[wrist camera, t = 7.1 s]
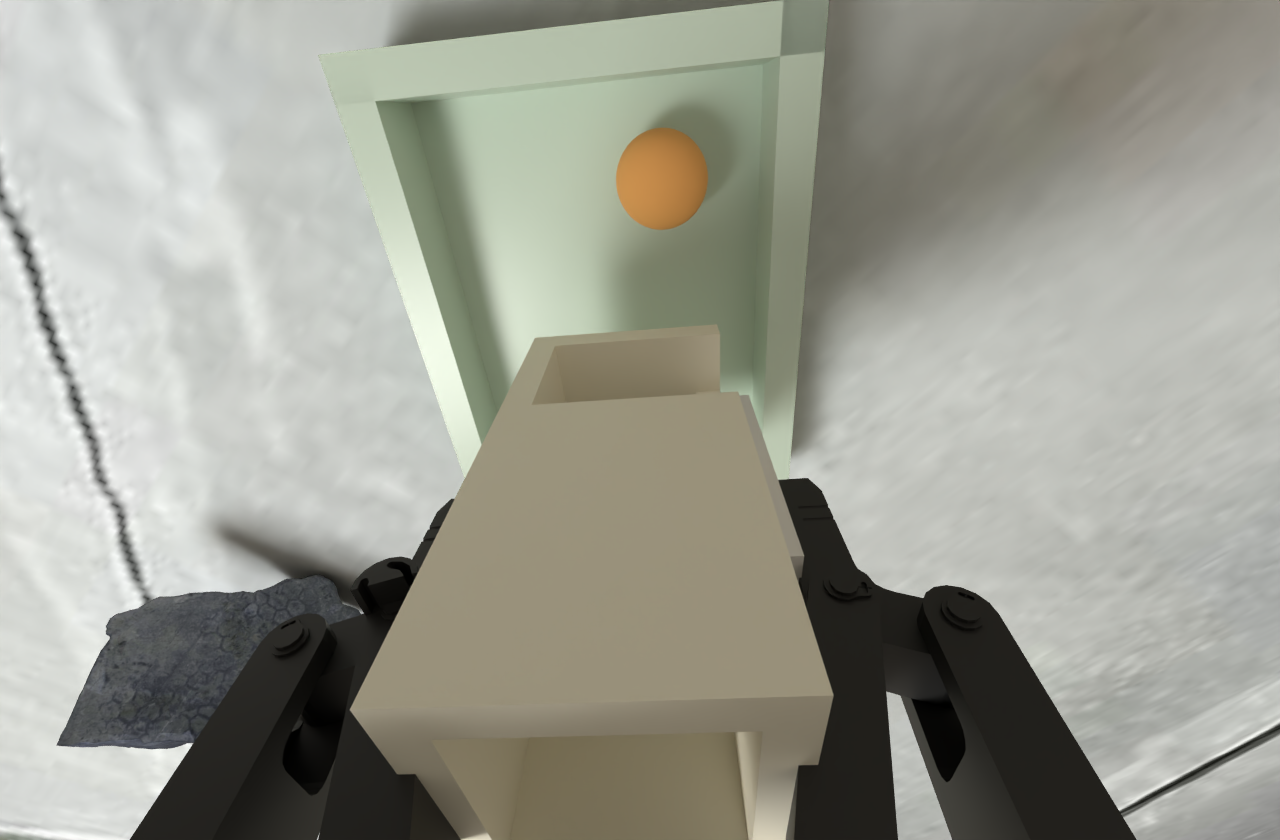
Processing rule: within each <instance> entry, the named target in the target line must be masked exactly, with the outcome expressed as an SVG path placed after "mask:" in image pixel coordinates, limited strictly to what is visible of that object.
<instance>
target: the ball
mask: <svg viewBox="0 0 1280 840" xmlns="http://www.w3.org/2000/svg"><path fill="white" fill-rule="evenodd" d="M707 185H708V170H707V165H706V162H705V158H704V156H703V154H702V152H701V150H700V148H699V147H698V146H697V144H696V143H695V142H694V141H693V140H692V139H691V138H690V137H689V136H687V135H686V134H684V133H682V132H680V131H678V130H675V129H671V128H654V129H650V130H647V131H645V132H643V133H641V134H640V135H638V136H637V137H636V138H634V139H633V140H632V141H631V142H630V143H629V144H628V146H627V147H626V149H625V150H624V152H623V153H622V155H621V158H620V160H619V163H618V167H617V172H616V187H617V193H618V196H619V199H620V202H621V204H622V206H623V207H624V209H625V211H626V212H627V213H628V214H629V216H630V217H631V218H633V219H634V220H635V221H636V222H638V223H639V224H641V225H643V226H645V227H648V228H651V229H656V230H666V229H671V228H675V227H677V226H680V225H682V224H683V223H685V222H686V221H688V220H689V219H690V218H691V217H692V216H693V215H694V214H695V213H696V212H697V210H698V209H699V207H700V206H701V204H702V202H703V200H704V197H705V194H706V190H707Z"/></svg>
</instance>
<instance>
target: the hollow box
mask: <svg viewBox="0 0 1280 840" xmlns="http://www.w3.org/2000/svg"><path fill="white" fill-rule="evenodd" d="M833 696H834V695H833V692H832V689H831V685H830V682H829V679H828V676H827V673H826V670H825V666H824V663H823V660H822V657H821V654H820V650H819V647H818V644H817V641H816V638H815V635H814V631H813V628H812V625H811V622H810V619H809V615H808V612H807V609H806V606H805V603H804V600H803V596H802V593H801V590H800V587H799V584H798V580H797V577H796V574H795V571H794V568H793V565H792V561H791V558H790V555H789V552H788V549H787V545H786V542H785V539H784V536H783V533H782V530H781V526H780V523H779V520H778V517H777V514H776V510H775V507H774V504H773V501H772V498H771V495H770V491H769V488H768V485H767V482H766V479H765V475H764V472H763V469H762V466H761V463H760V460H759V456H758V453H757V450H756V447H755V444H754V440H753V437H752V434H751V431H750V428H749V424H748V421H747V418H746V415H745V412H744V409H743V405H742V402H741V399H740V396H739V393H738V391H737V392H722V393H720V332H719V329H718V326H717V324H715V325H701V326H688V327H674V328H661V329H647V330H633V331H620V332H606V333H593V334H579V335H565V336H552V337H538V338H535V339H534V341H533V343H532V345H531V347H530V349H529V351H528V353H527V355H526V357H525V359H524V361H523V363H522V365H521V367H520V369H519V371H518V373H517V375H516V377H515V379H514V381H513V383H512V385H511V387H510V389H509V391H508V393H507V395H506V397H505V399H504V401H503V403H502V405H501V407H500V409H499V411H498V413H497V415H496V417H495V419H494V421H493V423H492V425H491V427H490V429H489V431H488V433H487V435H486V437H485V439H484V441H483V443H482V445H481V447H480V449H479V451H478V453H477V455H476V457H475V459H474V461H473V463H472V465H471V467H470V469H469V471H468V473H467V475H466V477H465V479H464V481H463V483H462V485H461V487H460V489H459V491H458V493H457V495H456V497H455V500H454V502H453V504H452V506H451V508H450V510H449V512H448V514H447V516H446V518H445V520H444V522H443V524H442V526H441V528H440V530H439V532H438V534H437V536H436V538H435V540H434V542H433V544H432V546H431V548H430V550H429V552H428V554H427V556H426V558H425V560H424V562H423V564H422V566H421V568H420V570H419V572H418V574H417V576H416V578H415V580H414V582H413V584H412V586H411V588H410V590H409V592H408V594H407V596H406V598H405V600H404V602H403V604H402V606H401V608H400V610H399V612H398V614H397V616H396V618H395V620H394V622H393V624H392V626H391V628H390V630H389V632H388V634H387V636H386V638H385V640H384V642H383V644H382V646H381V648H380V650H379V652H378V654H377V656H376V658H375V660H374V662H373V664H372V666H371V668H370V670H369V672H368V674H367V676H366V678H365V680H364V682H363V684H362V686H361V688H360V690H359V692H358V694H357V696H356V698H355V700H354V702H353V704H352V706H351V708H350V711H351V712H352V714H353V715H354V716H355V718H356V719H357V720H358V722H359V723H360V724H361V726H362V727H363V729H364V730H365V731H366V733H367V734H368V735H369V737H370V738H371V739H372V741H373V742H374V743H375V745H376V746H377V747H378V749H379V750H380V752H381V753H382V754H383V756H384V757H385V758H386V760H387V761H388V762H389V764H390V765H391V766H392V768H393V769H394V770H395V772H396V773H397V774H416V776H417V777H418V779H419V780H420V782H421V783H422V784H423V786H424V787H425V789H426V790H427V792H428V793H429V794H430V796H431V797H432V799H433V800H434V802H435V803H436V805H437V806H438V807H439V809H440V810H441V812H442V813H443V815H444V816H445V817H446V819H447V820H448V822H449V823H450V825H451V826H452V827H453V829H454V830H455V832H456V833H457V835H458V836H459V838H460V839H461V840H786V832H787V826H788V821H789V815H790V810H791V804H792V799H793V793H794V787H795V782H796V776H797V771H798V765H818V763H819V758H820V754H821V750H822V745H823V741H824V736H825V732H826V727H827V723H828V718H829V714H830V709H831V705H832V700H833Z"/></svg>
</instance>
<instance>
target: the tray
mask: <svg viewBox="0 0 1280 840" xmlns="http://www.w3.org/2000/svg"><path fill="white" fill-rule="evenodd" d="M828 9H829V0H779V1H770V2H762V3H753V4H745V5H736V6H728V7H719V8H711V9H703V10H694V11H686V12H677V13H669V14H660V15H652V16H643V17H635V18H626V19H618V20H609V21H601V22H592V23H584V24H576V25H567V26H559V27H550V28H542V29H533V30H525V31H516V32H508V33H499V34H491V35H482V36H474V37H466V38H457V39H449V40H440V41H432V42H423V43H415V44H406V45H398V46H389V47H381V48H372V49H364V50H355V51H347V52H339V53H330V54H322V55H318V56H319V59H320V62H321V65H322V68H323V71H324V74H325V77H326V80H327V82H328V85H329V88H330V91H331V94H332V97H333V100H334V103H335V105H336V108H337V111H338V114H339V117H340V120H341V123H342V126H343V129H344V131H345V134H346V137H347V140H348V143H349V146H350V149H351V152H352V155H353V157H354V160H355V163H356V166H357V169H358V172H359V175H360V178H361V181H362V183H363V186H364V189H365V192H366V195H367V198H368V201H369V204H370V207H371V209H372V212H373V215H374V218H375V221H376V224H377V227H378V230H379V233H380V235H381V238H382V241H383V244H384V247H385V250H386V253H387V256H388V259H389V261H390V264H391V267H392V270H393V273H394V276H395V279H396V282H397V285H398V287H399V290H400V293H401V296H402V299H403V302H404V305H405V308H406V310H407V313H408V316H409V319H410V322H411V325H412V328H413V331H414V334H415V336H416V339H417V342H418V345H419V348H420V351H421V354H422V357H423V360H424V362H425V365H426V368H427V371H428V374H429V377H430V380H431V383H432V386H433V388H434V391H435V394H436V397H437V400H438V403H439V406H440V409H441V412H442V414H443V417H444V420H445V423H446V426H447V429H448V432H449V435H450V438H451V440H452V443H453V446H454V449H455V452H456V455H457V458H458V461H459V464H460V466H461V469H462V472H463V475H464V478H465V477H466V475H467V473H468V471H469V469H470V467H471V465H472V463H473V461H474V459H475V457H476V455H477V453H478V451H479V449H480V447H481V445H482V443H483V441H484V439H485V437H486V435H487V433H488V431H489V429H490V427H491V425H492V423H493V421H494V419H495V417H496V415H497V413H498V411H499V409H500V407H501V405H502V403H503V401H504V399H505V397H506V395H507V393H508V391H509V389H510V387H511V385H512V383H513V381H514V379H515V377H516V375H517V373H518V371H519V369H520V367H521V365H522V363H523V361H524V359H525V357H526V355H527V353H528V351H529V349H530V347H531V345H532V343H533V341H534V339H535V338H538V337H552V336H565V335H579V334H593V333H606V332H620V331H633V330H647V329H661V328H674V327H688V326H701V325H715V324H717V326H718V329H719V332H720V393H722V392H737V391H738V393H739V395H749V398H750V400H751V403H752V406H753V409H754V412H755V415H756V418H757V421H758V424H759V427H760V429H761V432H762V435H763V438H764V441H765V444H766V447H767V450H768V453H769V455H770V458H771V461H772V464H773V467H774V470H775V473H776V476H777V479H778V480H784V479H789V469H790V457H791V446H792V434H793V422H794V410H795V398H796V386H797V375H798V363H799V351H800V339H801V327H802V316H803V304H804V292H805V280H806V268H807V257H808V245H809V233H810V221H811V209H812V198H813V186H814V174H815V162H816V150H817V139H818V127H819V115H820V103H821V91H822V80H823V68H824V56H825V44H826V32H827V20H828ZM654 128H671V129H675V130H678V131H680V132H682V133H684V134H686V135H687V136H689V137H690V138H691V139H692V140H693V141H694V142H695V143H696V144H697V146H698V147H699V148H700V150H701V152H702V154H703V156H704V158H705V162H706V165H707V170H708V185H707V190H706V194H705V197H704V200H703V202H702V204H701V206H700V207H699V209H698V210H697V212H696V213H695V214H694V215H693V216H692V217H691V218H690V219H689V220H688V221H686V222H685V223H683V224H682V225H680V226H677V227H675V228H671V229H666V230H656V229H651V228H648V227H645V226H643V225H641V224H639V223H638V222H636V221H635V220H634V219H633V218H631V217H630V216H629V214H628V213H627V212H626V211H625V209H624V207H623V206H622V204H621V202H620V199H619V196H618V193H617V187H616V172H617V167H618V163H619V160H620V158H621V155H622V153H623V152H624V150H625V149H626V147H627V146H628V144H629V143H630V142H631V141H632V140H633V139H634V138H636V137H637V136H638V135H640V134H641V133H643V132H645V131H647V130H650V129H654Z"/></svg>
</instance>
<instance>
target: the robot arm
mask: <svg viewBox="0 0 1280 840" xmlns="http://www.w3.org/2000/svg"><path fill="white" fill-rule="evenodd" d="M739 396H740V399H741V402H742V405H743V409H744V412H745V415H746V418H747V421H748V424H749V428H750V431H751V434H752V437H753V440H754V444H755V447H756V450H757V453H758V456H759V460H760V463H761V466H762V469H763V472H764V475H765V479H766V482H767V485H768V488H769V491H770V495H771V498H772V501H773V504H774V507H775V510H776V514H777V517H778V520H779V523H780V526H781V530H782V533H783V536H784V539H785V542H786V545H787V549H788V552H789V555H790V558H791V561H792V565H793V568H794V571H795V574H796V577H797V580H798V584H799V587H800V590H801V593H802V596H803V600H804V603H805V606H806V609H807V612H808V615H809V619H810V622H811V625H812V628H813V631H814V635H815V638H816V641H817V644H818V647H819V650H820V654H821V657H822V660H823V663H824V666H825V670H826V673H827V676H828V679H829V682H830V685H831V689H832V692H833V695H834V696H833V700H832V705H831V709H830V714H829V718H828V723H827V727H826V732H825V736H824V741H823V745H822V750H821V754H820V758H819V763H818V765H798V771H797V776H796V782H795V787H794V793H793V799H792V804H791V810H790V815H789V821H788V826H787V832H786V840H898V834H897V822H896V809H895V797H894V784H893V772H892V759H891V747H890V734H889V722H888V709H887V697H886V691H887V692H891V693H894V694H898V695H901V698H902V701H903V704H904V706H905V709H906V712H907V715H908V717H909V720H910V723H911V726H912V729H913V731H914V734H915V737H916V740H917V743H918V745H919V748H920V751H921V754H922V756H923V759H924V762H925V765H926V768H927V770H928V773H929V776H930V779H931V782H932V784H933V787H934V790H935V793H936V795H937V798H938V801H939V804H940V807H941V809H942V812H943V815H944V818H945V821H946V823H947V826H948V829H949V832H950V834H951V837H952V840H1136V838H1135V836H1134V835H1133V833H1132V832H1131V830H1130V828H1129V827H1128V825H1127V823H1126V822H1125V820H1124V818H1123V817H1122V815H1121V813H1120V812H1119V810H1118V809H1117V807H1116V805H1115V804H1114V802H1113V800H1112V799H1111V797H1110V795H1109V794H1108V792H1107V791H1106V789H1105V787H1104V786H1103V784H1102V782H1101V781H1100V779H1099V777H1098V776H1097V774H1096V772H1095V771H1094V769H1093V768H1092V766H1091V764H1090V763H1089V761H1088V759H1087V758H1086V756H1085V754H1084V753H1083V751H1082V750H1081V748H1080V746H1079V745H1078V743H1077V741H1076V740H1075V738H1074V736H1073V735H1072V733H1071V731H1070V730H1069V728H1068V727H1067V725H1066V723H1065V722H1064V720H1063V718H1062V717H1061V715H1060V713H1059V712H1058V710H1057V709H1056V707H1055V705H1054V704H1053V702H1052V700H1051V699H1050V697H1049V695H1048V694H1047V692H1046V690H1045V689H1044V687H1043V686H1042V684H1041V682H1040V681H1039V679H1038V677H1037V676H1036V674H1035V672H1034V671H1033V669H1032V668H1031V666H1030V664H1029V663H1028V661H1027V659H1026V658H1025V656H1024V654H1023V653H1022V651H1021V649H1020V648H1019V646H1018V645H1017V643H1016V641H1015V640H1014V638H1013V636H1012V635H1011V633H1010V631H1009V630H1008V628H1007V627H1006V625H1005V623H1004V622H1003V620H1002V618H1001V617H1000V615H999V614H998V612H997V611H996V610H995V609H994V608H993V607H992V605H991V604H990V603H989V602H987V601H986V600H985V599H983V598H982V597H980V596H979V595H977V594H976V593H973V592H971V591H969V590H966V589H964V588H961V587H955V586H948V585H945V586H938V587H934V588H932V589H931V590H929V591H928V592H926V594H925V596H924V598H920V597H915V596H910V595H906V594H901V593H897V592H893V591H890V590H887V589H884V588H882V587H880V586H878V585H876V584H874V582H873V581H872V580H871V579H870V578H869V577H868V575H867V574H865V573H864V572H862V571H860V570H859V569H857V567H856V566H855V564H854V562H853V560H852V557H851V555H850V553H849V551H848V549H847V546H846V544H845V542H844V540H843V537H842V535H841V533H840V531H839V529H838V526H837V524H836V522H835V520H834V519H833V515H832V513H831V511H830V509H829V508H828V504H827V502H826V500H825V497H824V495H823V493H822V491H821V490H820V489H819V488H818V487H817V486H816V485H815V484H814V483H813V482H811V481H810V480H809V479H808V478H802V479H784V480H778V479H777V476H776V473H775V470H774V467H773V464H772V461H771V458H770V455H769V453H768V450H767V447H766V444H765V441H764V438H763V435H762V432H761V429H760V427H759V424H758V421H757V418H756V415H755V412H754V409H753V406H752V403H751V400H750V398H749V395H739ZM454 500H455V499H451V500H450V501H449V502H448V503H446V504H445V505H444V506H443V507H442V508H441V509H440V510H439V511H438V512H437V514H436V516H435V517H434V519H433V521H432V523H431V525H430V530H428V531H427V533H426V535H425V536H424V538H423V542H421V544H420V546H419V548H418V550H417V552H416V554H415V555H414V557H413V559H412V560H411V559H410V558H405V557H394V558H388V559H385V560H383V561H380V562H378V563H376V564H374V565H373V566H371V567H369V568H368V569H366V570H365V571H364V572H363V573H362V574H361V575H360V576H359V577H358V578H357V579H356V580H355V582H354V584H353V586H352V588H351V592H352V594H353V595H354V597H355V599H356V600H357V602H358V604H359V605H360V607H361V609H362V610H363V612H364V614H362V615H359V616H356V617H353V618H349V619H346V620H343V621H340V622H336V623H333V624H330V625H329V624H328V623H327V621H326V620H325V619H324V618H323V617H322V616H320V615H319V614H312V613H307V614H303V615H298V616H295V617H293V618H291V619H289V620H287V621H285V622H283V623H281V624H280V625H278V626H277V627H276V628H274V629H273V630H272V631H271V632H269V633H268V634H267V636H266V637H265V638H264V639H263V640H262V641H261V643H260V644H259V645H258V647H257V648H256V650H255V651H254V653H253V654H252V656H251V657H250V659H249V660H248V662H247V663H246V665H245V666H244V668H243V669H242V671H241V672H240V674H239V676H238V677H237V679H236V680H235V682H234V683H233V685H232V686H231V688H230V689H229V691H228V692H227V694H226V695H225V697H224V698H223V700H222V701H221V703H220V704H219V706H218V707H217V709H216V710H215V712H214V713H213V715H212V716H211V718H210V719H209V721H208V722H207V724H206V725H205V727H204V728H203V730H202V731H201V733H200V734H199V736H198V737H197V739H196V740H195V742H194V743H193V745H192V746H191V748H190V749H189V751H188V753H187V754H186V756H185V757H184V759H183V760H182V762H181V763H180V765H179V766H178V768H177V769H176V771H175V772H174V774H173V775H172V777H171V778H170V780H169V781H168V783H167V784H166V786H165V787H164V789H163V790H162V792H161V793H160V795H159V796H158V798H157V799H156V801H155V802H154V804H153V805H152V807H151V808H150V810H149V811H148V813H147V814H146V816H145V817H144V819H143V820H142V822H141V823H140V825H139V826H138V828H137V830H136V831H135V833H134V834H133V836H132V837H131V839H130V840H317V837H318V835H319V839H318V840H461V839H460V838H459V836H458V835H457V833H456V832H455V830H454V829H453V827H452V826H451V825H450V823H449V822H448V820H447V819H446V817H445V816H444V815H443V813H442V812H441V810H440V809H439V807H438V806H437V805H436V803H435V802H434V800H433V799H432V797H431V796H430V794H429V793H428V792H427V790H426V789H425V787H424V786H423V784H422V783H421V782H420V780H419V779H418V777H417V776H416V774H397V773H396V772H395V770H394V769H393V768H392V766H391V765H390V764H389V762H388V761H387V760H386V758H385V757H384V756H383V754H382V753H381V752H380V750H379V749H378V747H377V746H376V745H375V743H374V742H373V741H372V739H371V738H370V737H369V735H368V734H367V733H366V731H365V730H364V729H363V727H362V726H361V724H360V723H359V722H358V720H357V719H356V718H355V716H354V715H353V714H352V712H351V711H350V708H351V706H352V704H353V702H354V700H355V698H356V696H357V694H358V692H359V690H360V688H361V686H362V684H363V682H364V680H365V678H366V676H367V674H368V672H369V670H370V668H371V666H372V664H373V662H374V660H375V658H376V656H377V654H378V652H379V650H380V648H381V646H382V644H383V642H384V640H385V638H386V636H387V634H388V632H389V630H390V628H391V626H392V624H393V622H394V620H395V618H396V616H397V614H398V612H399V610H400V608H401V606H402V604H403V602H404V600H405V598H406V596H407V594H408V592H409V590H410V588H411V586H412V584H413V582H414V580H415V578H416V576H417V574H418V572H419V570H420V568H421V566H422V564H423V562H424V560H425V558H426V556H427V554H428V552H429V550H430V548H431V546H432V544H433V542H434V540H435V538H436V536H437V534H438V532H439V530H440V528H441V526H442V524H443V522H444V520H445V518H446V516H447V514H448V512H449V510H450V508H451V506H452V504H453V502H454ZM319 833H320V834H319Z"/></svg>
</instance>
